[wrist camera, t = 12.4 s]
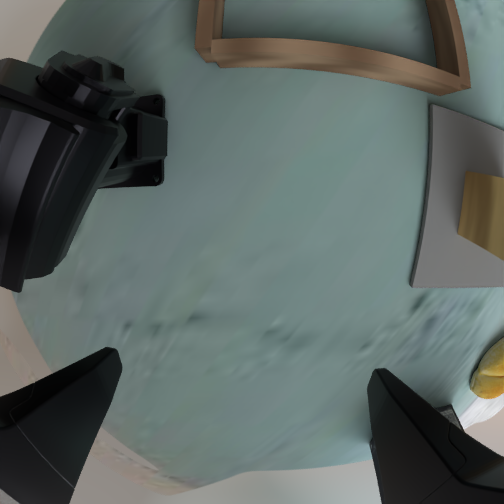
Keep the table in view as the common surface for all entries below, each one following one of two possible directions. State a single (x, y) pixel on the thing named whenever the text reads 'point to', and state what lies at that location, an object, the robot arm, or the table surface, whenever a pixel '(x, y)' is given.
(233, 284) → the table surface
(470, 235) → the ochre block
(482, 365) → the yellow rounded lump
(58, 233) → the robot arm
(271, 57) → the wooden picture frame
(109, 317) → the table surface
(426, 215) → the mat
